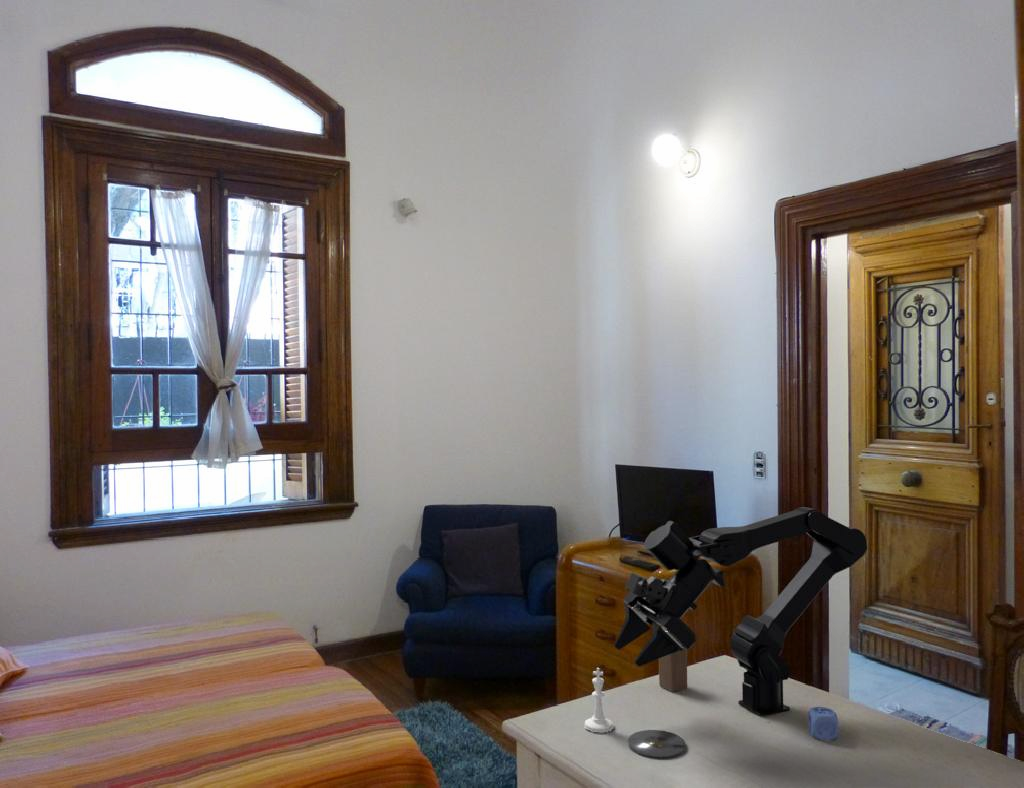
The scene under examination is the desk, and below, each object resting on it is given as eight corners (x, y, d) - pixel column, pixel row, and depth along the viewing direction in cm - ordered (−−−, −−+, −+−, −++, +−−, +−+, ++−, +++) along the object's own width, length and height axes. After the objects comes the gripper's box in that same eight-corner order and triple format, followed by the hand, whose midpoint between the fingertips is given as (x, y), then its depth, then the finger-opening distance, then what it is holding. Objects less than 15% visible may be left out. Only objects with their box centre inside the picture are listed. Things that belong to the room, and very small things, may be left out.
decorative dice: (808, 729, 128) (807, 705, 128) (833, 731, 127) (832, 707, 127) (813, 740, 124) (812, 715, 124) (839, 741, 123) (838, 716, 123)
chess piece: (612, 734, 127) (611, 674, 127) (582, 732, 128) (581, 672, 128) (614, 722, 132) (613, 664, 132) (585, 720, 132) (585, 662, 133)
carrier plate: (664, 729, 128) (664, 726, 128) (697, 751, 120) (696, 748, 120) (618, 739, 125) (617, 735, 125) (648, 762, 116) (648, 758, 116)
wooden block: (672, 693, 145) (671, 650, 145) (658, 686, 148) (657, 645, 148) (688, 688, 147) (687, 647, 147) (674, 682, 150) (673, 641, 150)
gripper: (632, 547, 142) (576, 611, 139) (677, 567, 124) (614, 641, 121) (672, 587, 143) (617, 651, 141) (722, 613, 125) (660, 686, 122)
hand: (625, 656), depth 131 cm, fingers open, 9 cm apart
